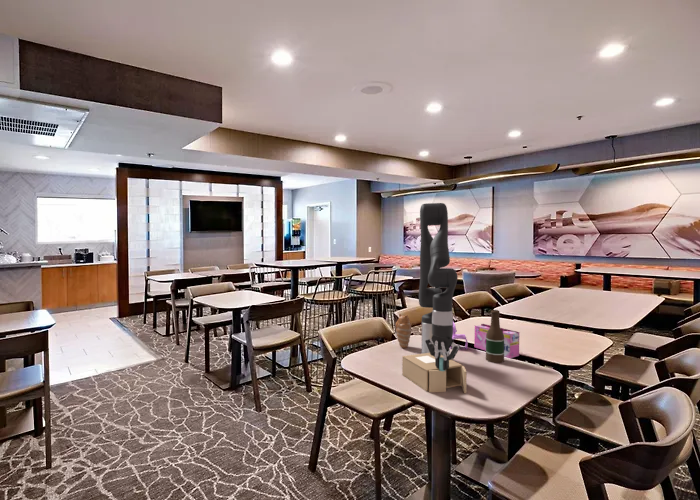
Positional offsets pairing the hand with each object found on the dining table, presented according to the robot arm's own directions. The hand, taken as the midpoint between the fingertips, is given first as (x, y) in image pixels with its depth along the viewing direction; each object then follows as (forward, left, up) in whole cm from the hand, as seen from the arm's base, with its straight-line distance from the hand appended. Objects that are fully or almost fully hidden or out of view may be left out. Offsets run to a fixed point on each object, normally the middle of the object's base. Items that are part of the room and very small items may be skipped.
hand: (442, 368), depth 137 cm
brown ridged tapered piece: (-14, -53, -9) cm, 56 cm away
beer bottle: (-43, -19, -9) cm, 48 cm away
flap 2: (-10, -1, -9) cm, 14 cm away
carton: (-3, -11, -9) cm, 14 cm away
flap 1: (+5, -1, -9) cm, 10 cm away
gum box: (-52, -30, -9) cm, 61 cm away
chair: (-39, -41, -9) cm, 58 cm away
